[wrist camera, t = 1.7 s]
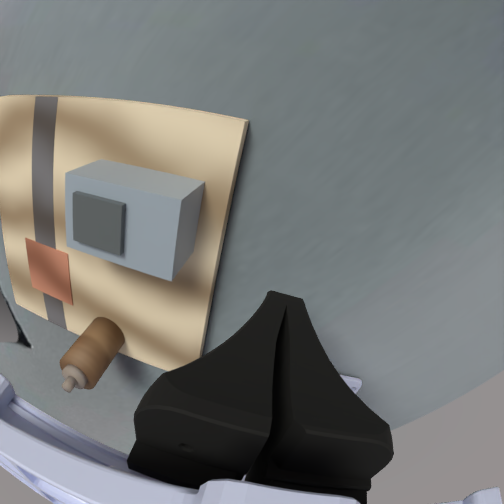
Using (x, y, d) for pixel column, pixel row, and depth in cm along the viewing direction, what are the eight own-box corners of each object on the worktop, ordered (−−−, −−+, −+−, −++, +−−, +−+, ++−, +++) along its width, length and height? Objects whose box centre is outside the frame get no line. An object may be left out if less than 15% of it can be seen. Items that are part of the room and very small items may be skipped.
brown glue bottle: (125, 352, 25) (87, 409, 19) (94, 339, 25) (53, 391, 19) (124, 324, 24) (80, 384, 18) (91, 311, 24) (44, 365, 18)
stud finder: (193, 251, 20) (168, 285, 16) (98, 223, 20) (62, 249, 17) (204, 181, 18) (178, 202, 14) (101, 159, 18) (60, 174, 15)
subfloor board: (199, 370, 26) (195, 381, 25) (23, 297, 27) (15, 303, 26) (249, 120, 17) (244, 121, 16) (10, 95, 18) (-2, 96, 17)
